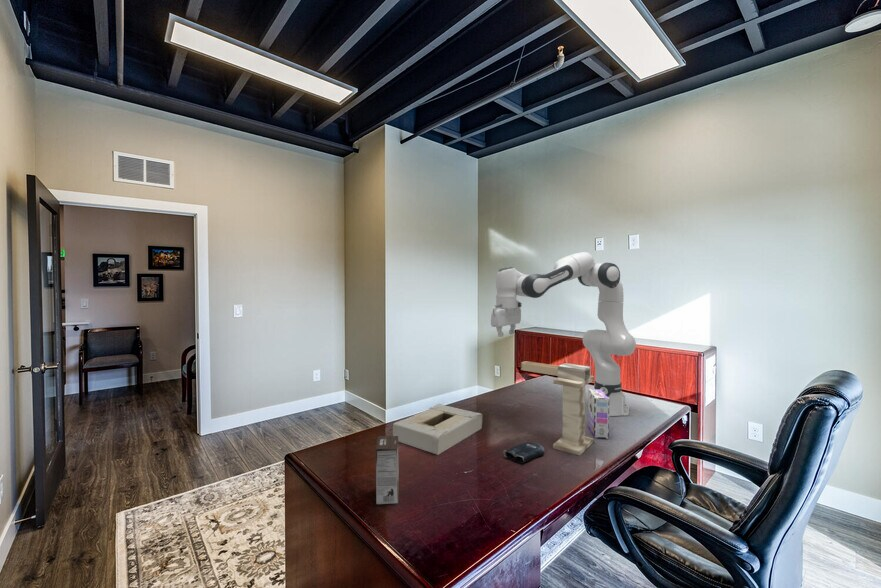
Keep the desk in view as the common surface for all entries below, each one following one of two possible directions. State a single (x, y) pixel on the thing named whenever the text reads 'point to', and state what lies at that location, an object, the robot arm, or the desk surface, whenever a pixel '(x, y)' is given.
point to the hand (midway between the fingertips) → (506, 335)
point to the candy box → (598, 413)
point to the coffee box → (387, 470)
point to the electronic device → (524, 451)
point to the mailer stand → (573, 407)
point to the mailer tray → (539, 368)
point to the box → (437, 428)
